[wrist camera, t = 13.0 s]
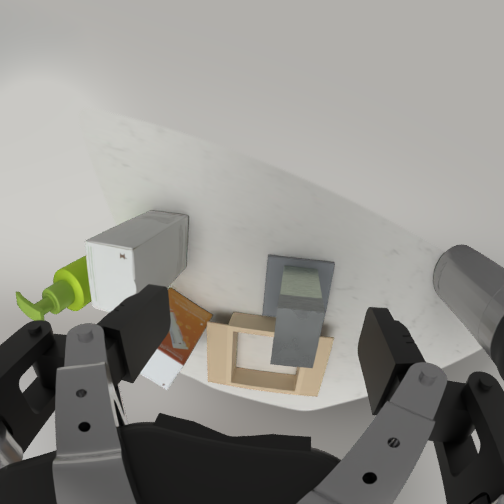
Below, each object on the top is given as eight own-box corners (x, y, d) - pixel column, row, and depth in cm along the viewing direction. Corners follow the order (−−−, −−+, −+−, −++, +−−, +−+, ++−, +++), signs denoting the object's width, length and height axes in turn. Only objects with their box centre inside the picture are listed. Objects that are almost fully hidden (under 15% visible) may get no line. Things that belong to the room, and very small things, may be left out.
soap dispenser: (102, 234, 42) (10, 278, 23) (136, 248, 42) (46, 304, 23) (99, 265, 44) (16, 318, 25) (131, 280, 44) (51, 345, 25)
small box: (213, 314, 43) (185, 366, 31) (196, 339, 45) (167, 392, 33) (170, 285, 43) (127, 328, 31) (156, 313, 45) (116, 358, 33)
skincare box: (151, 209, 40) (82, 235, 25) (192, 214, 39) (134, 246, 24) (149, 262, 42) (89, 308, 28) (188, 270, 42) (137, 324, 27)
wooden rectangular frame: (331, 323, 41) (333, 338, 37) (316, 380, 44) (317, 396, 40) (214, 308, 43) (206, 322, 39) (214, 366, 46) (207, 381, 43)
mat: (333, 262, 38) (334, 264, 37) (323, 319, 41) (323, 322, 40) (268, 254, 39) (268, 256, 38) (262, 312, 42) (262, 315, 41)
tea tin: (317, 268, 38) (324, 312, 26) (310, 314, 40) (312, 368, 28) (283, 265, 38) (277, 307, 27) (278, 311, 40) (270, 364, 29)
